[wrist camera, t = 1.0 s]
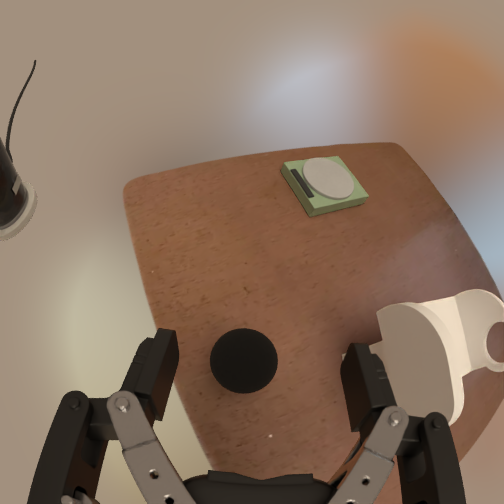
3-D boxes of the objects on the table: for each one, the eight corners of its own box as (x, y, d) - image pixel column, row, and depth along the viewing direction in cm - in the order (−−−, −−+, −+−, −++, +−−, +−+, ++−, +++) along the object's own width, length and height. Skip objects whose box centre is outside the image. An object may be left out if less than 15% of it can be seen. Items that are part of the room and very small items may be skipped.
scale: (309, 217, 42) (315, 205, 39) (280, 171, 46) (284, 159, 43) (363, 203, 46) (370, 193, 43) (333, 164, 50) (339, 153, 47)
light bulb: (247, 336, 31) (267, 310, 22) (268, 381, 29) (298, 374, 20) (199, 354, 29) (200, 335, 20) (220, 401, 27) (229, 404, 18)
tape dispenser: (413, 319, 36) (503, 265, 21) (429, 398, 30) (530, 372, 14) (336, 334, 33) (435, 272, 18) (352, 429, 27) (467, 431, 11)
